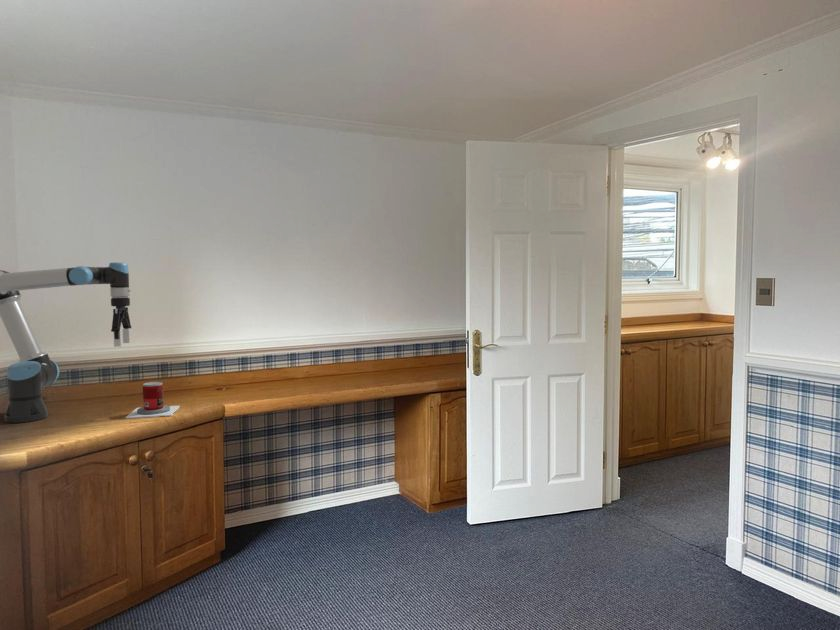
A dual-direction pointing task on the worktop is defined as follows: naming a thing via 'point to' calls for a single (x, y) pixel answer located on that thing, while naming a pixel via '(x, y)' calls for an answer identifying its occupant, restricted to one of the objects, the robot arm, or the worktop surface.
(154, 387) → the canned food
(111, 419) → the worktop surface
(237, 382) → the worktop surface
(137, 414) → the white square plate
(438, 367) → the worktop surface
